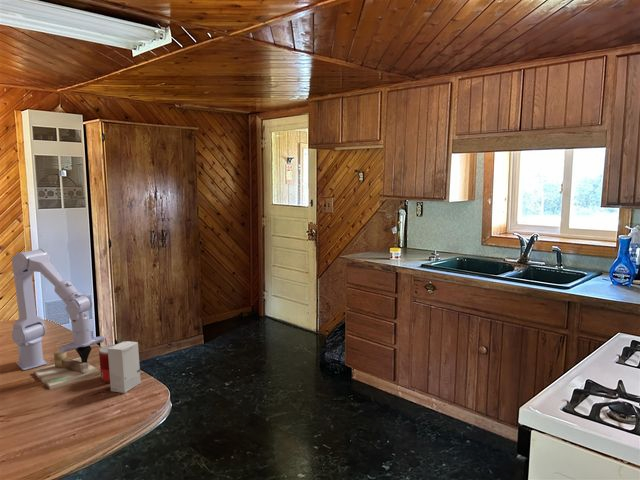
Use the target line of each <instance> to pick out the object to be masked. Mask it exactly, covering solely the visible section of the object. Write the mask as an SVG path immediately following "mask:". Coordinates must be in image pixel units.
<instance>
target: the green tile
mask: <svg viewBox="0 0 640 480" xmlns="http://www.w3.org/2000/svg"><path fill="white" fill-rule="evenodd" d="M62 380H67V376H64V377H58V378H52V379H51V380H50V382H56V381H62Z"/></svg>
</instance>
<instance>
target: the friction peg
mask: <svg viewBox="0 0 640 480" xmlns="http://www.w3.org/2000/svg"><path fill="white" fill-rule="evenodd" d="M67 353H68V351H67V352H65V353H61V352H60V350H57V351H55V352H54V353H53V356H54V357H53V359H54V364H55V367H56V368H62V367H63V368H67V369H71V370H74V371H78V372H81V373H85V372H87V371H89V370H88V363H89V362H88V363H83V362H79V361H75V360H72V359H71V358H68V354H67Z"/></svg>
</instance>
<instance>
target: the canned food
mask: <svg viewBox="0 0 640 480" xmlns="http://www.w3.org/2000/svg"><path fill="white" fill-rule="evenodd" d="M116 344H117V343H116ZM116 344H108V345H107V344H106V345H104V346H102V347H101V348H99V349H98V350H99V351H98V357H99V367H100V377H101V378H100V379H101V381H102V382H104V383H109V384H110V372H109V359H108V348H111V347H113V346H115V345H116Z"/></svg>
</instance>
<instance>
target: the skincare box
mask: <svg viewBox="0 0 640 480" xmlns="http://www.w3.org/2000/svg"><path fill="white" fill-rule="evenodd" d="M108 359H109V372H110V383H109V384H110V391H111V392H116V393H119V394H126V393H128V392H129V391H130V390H132V389H134V388H135V387H136V386H139V385H140V384H141V382H142V381H141V367H140V354H139V342H138V341H128V340H127V341H125V340H124V341H121V342H120V343H116V345H115V346H113V347H111V348H108Z"/></svg>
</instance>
